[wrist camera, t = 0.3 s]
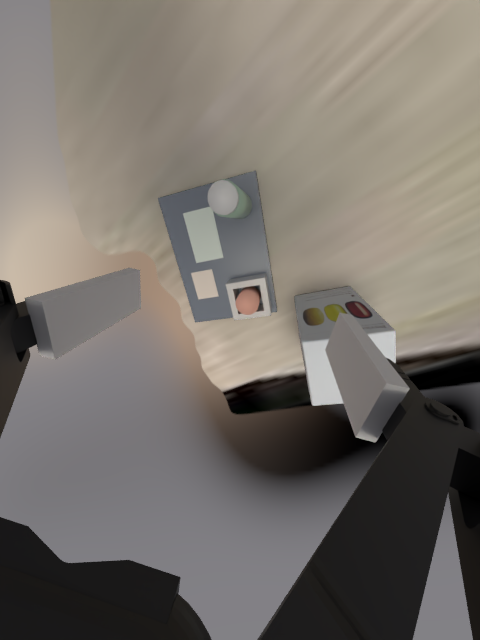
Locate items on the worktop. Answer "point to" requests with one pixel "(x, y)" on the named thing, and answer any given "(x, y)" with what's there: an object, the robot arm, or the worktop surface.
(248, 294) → the button
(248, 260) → the button panel board
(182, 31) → the worktop surface
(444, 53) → the worktop surface
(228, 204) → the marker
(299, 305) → the supplement box
